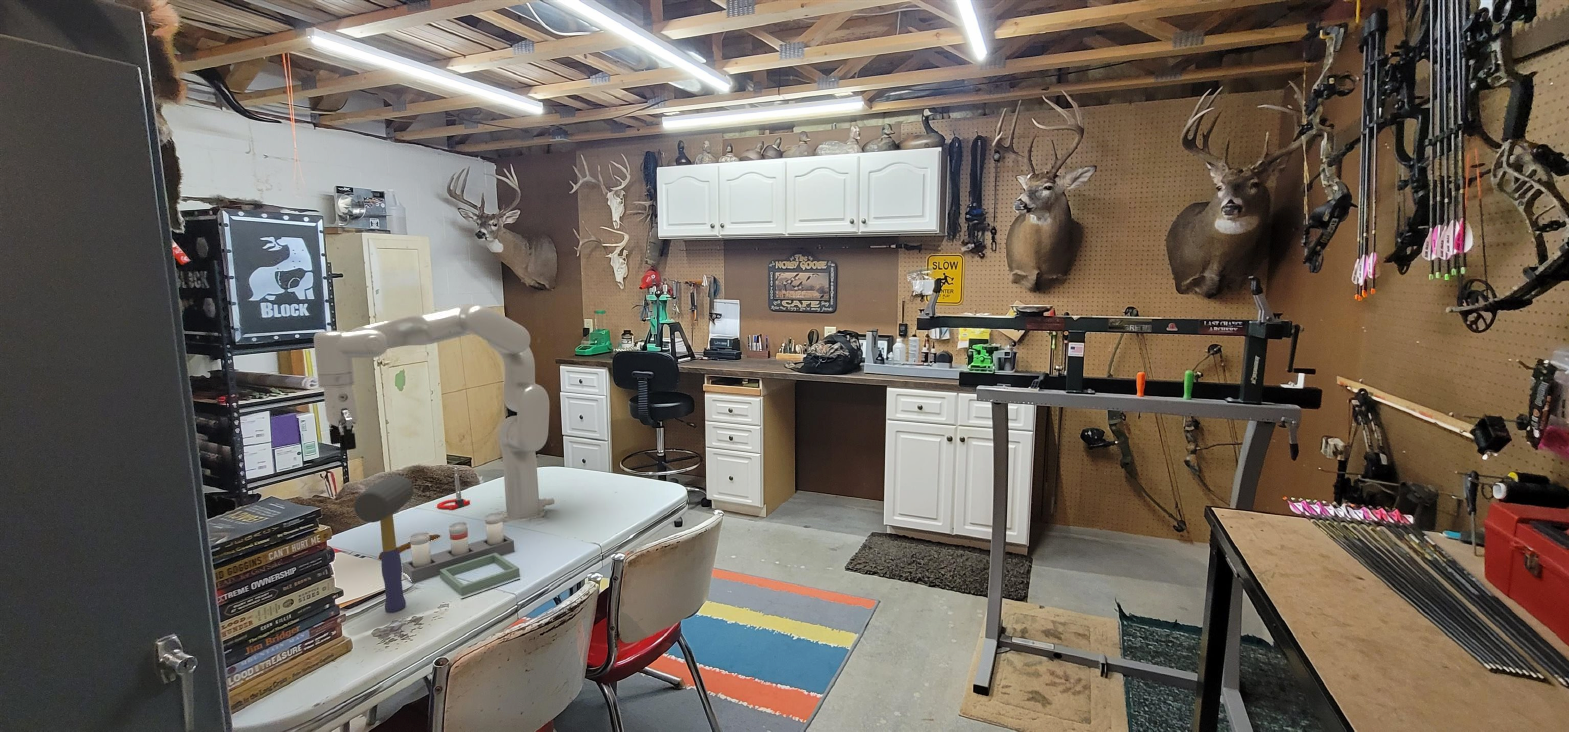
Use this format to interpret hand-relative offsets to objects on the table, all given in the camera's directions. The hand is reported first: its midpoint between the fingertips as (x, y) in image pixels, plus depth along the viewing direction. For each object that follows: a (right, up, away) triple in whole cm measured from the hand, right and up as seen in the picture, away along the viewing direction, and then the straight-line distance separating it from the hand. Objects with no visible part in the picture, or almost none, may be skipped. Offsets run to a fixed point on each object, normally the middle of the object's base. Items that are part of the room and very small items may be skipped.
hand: (343, 446), depth 167 cm
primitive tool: (+9, -30, +13) cm, 34 cm away
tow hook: (+4, -26, +48) cm, 54 cm away
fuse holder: (+29, -31, +1) cm, 43 cm away
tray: (+38, -32, -7) cm, 50 cm away
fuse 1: (+23, -31, -5) cm, 39 cm away
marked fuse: (+29, -30, +1) cm, 42 cm away
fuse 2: (+36, -29, +8) cm, 47 cm away
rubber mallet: (+26, -34, -22) cm, 49 cm away
